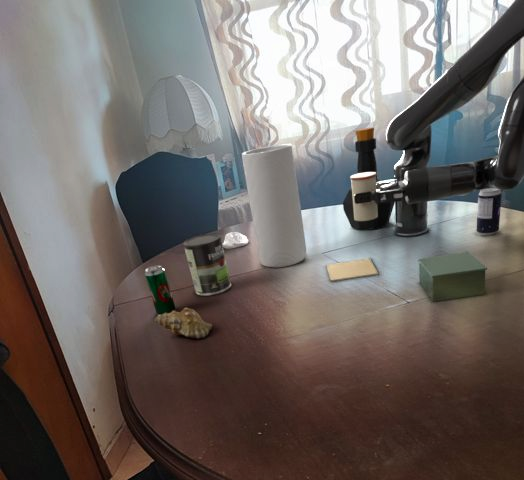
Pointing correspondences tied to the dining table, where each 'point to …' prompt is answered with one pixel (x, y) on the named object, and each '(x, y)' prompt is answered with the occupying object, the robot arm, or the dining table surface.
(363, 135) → the bottle
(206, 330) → the seashell
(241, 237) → the white lumpy mound
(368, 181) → the canister
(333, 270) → the mat
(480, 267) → the tin
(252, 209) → the vase
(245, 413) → the dining table surface
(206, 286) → the coffee can
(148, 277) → the soda can
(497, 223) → the beverage can
